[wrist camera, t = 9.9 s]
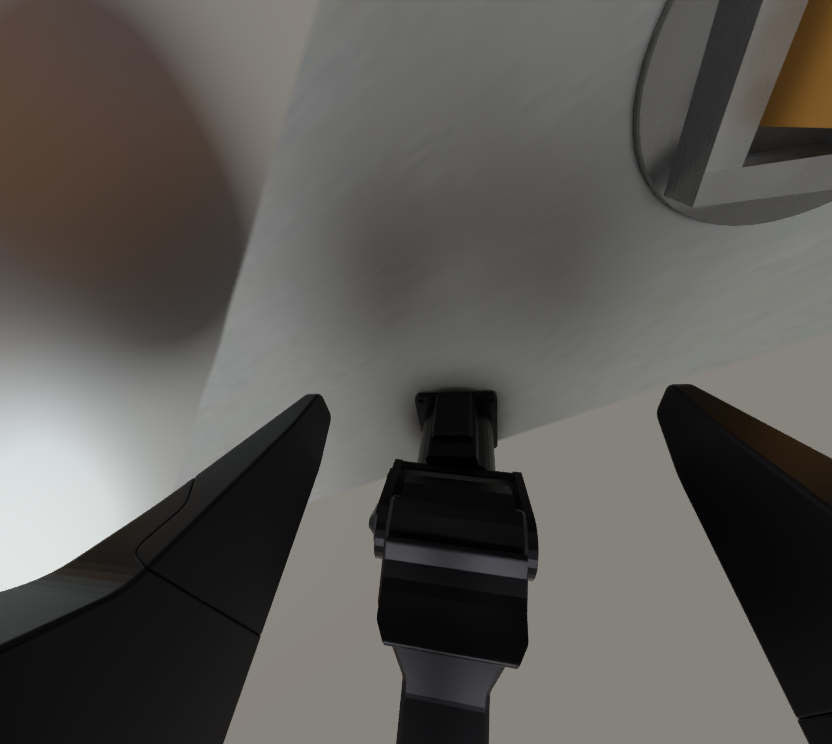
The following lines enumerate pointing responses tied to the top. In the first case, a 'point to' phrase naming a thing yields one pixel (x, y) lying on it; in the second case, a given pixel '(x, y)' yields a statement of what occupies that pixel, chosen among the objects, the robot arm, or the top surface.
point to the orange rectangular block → (805, 74)
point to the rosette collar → (725, 115)
